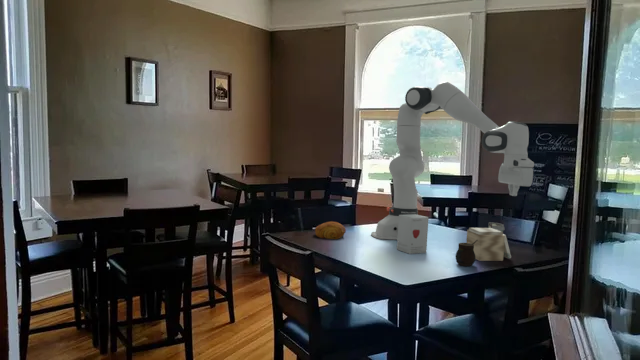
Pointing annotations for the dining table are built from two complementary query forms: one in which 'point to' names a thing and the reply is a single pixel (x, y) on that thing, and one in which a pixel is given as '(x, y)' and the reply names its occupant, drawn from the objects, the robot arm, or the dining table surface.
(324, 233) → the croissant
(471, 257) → the mate gourd
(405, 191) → the robot arm
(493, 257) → the block
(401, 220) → the supplement box
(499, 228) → the food container
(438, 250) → the dining table surface
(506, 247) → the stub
